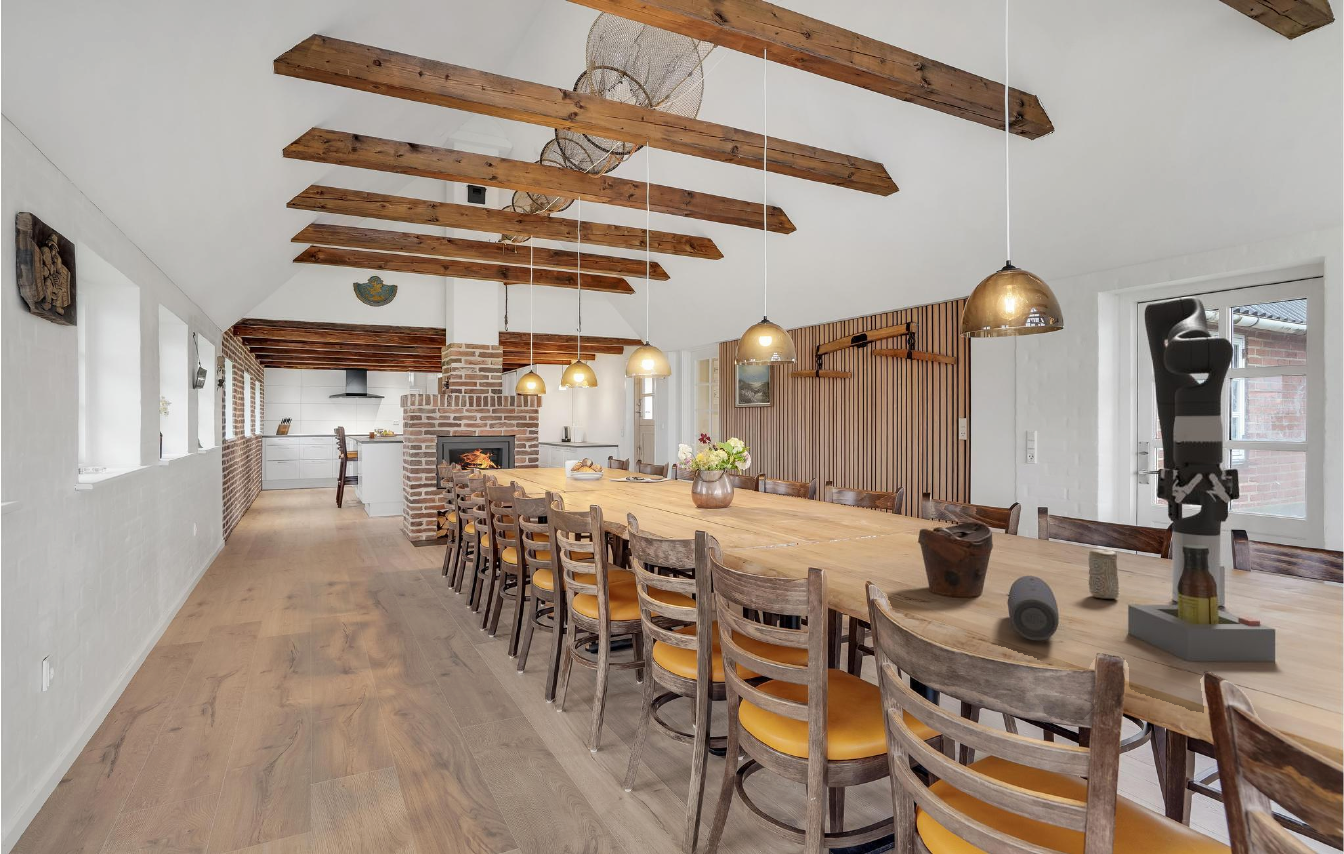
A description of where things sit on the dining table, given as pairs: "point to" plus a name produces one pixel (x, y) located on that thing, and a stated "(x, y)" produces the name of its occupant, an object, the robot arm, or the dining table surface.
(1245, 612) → the dining table surface
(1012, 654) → the dining table surface
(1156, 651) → the dining table surface
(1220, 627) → the bottle socket block
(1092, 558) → the carving
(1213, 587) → the sauce bottle
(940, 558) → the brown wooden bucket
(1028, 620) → the bluetooth speaker
